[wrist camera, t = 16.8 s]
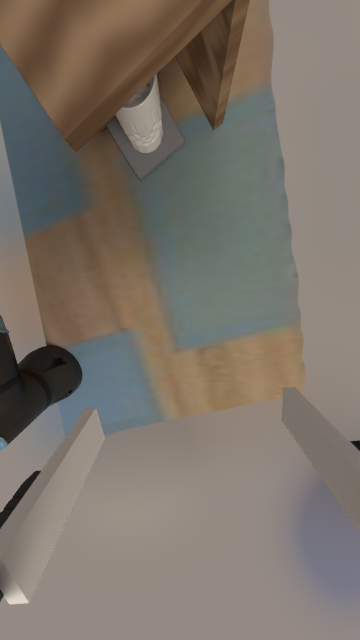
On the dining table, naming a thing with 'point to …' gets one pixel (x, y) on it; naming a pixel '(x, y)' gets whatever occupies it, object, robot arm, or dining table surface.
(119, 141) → the felt pad
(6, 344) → the robot arm
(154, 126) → the white cup
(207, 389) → the dining table surface
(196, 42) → the walnut shelf
